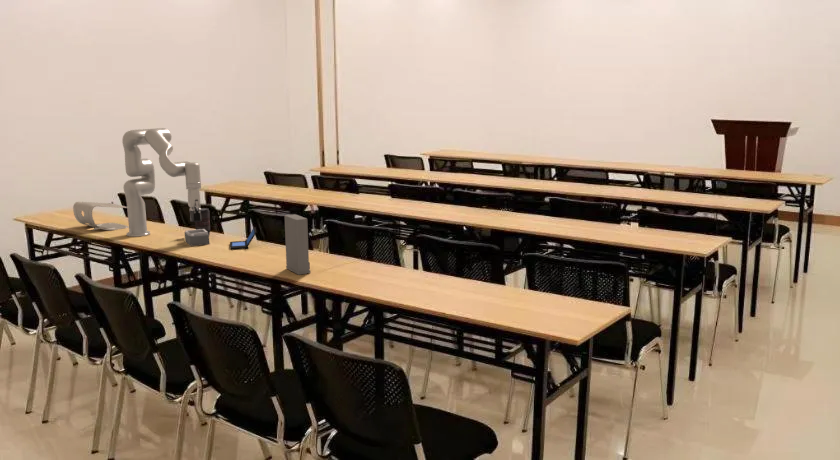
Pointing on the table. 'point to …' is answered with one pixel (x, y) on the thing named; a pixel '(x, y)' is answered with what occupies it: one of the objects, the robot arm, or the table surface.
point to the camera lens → (204, 221)
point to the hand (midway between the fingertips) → (195, 219)
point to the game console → (243, 242)
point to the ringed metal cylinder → (193, 215)
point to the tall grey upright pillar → (297, 244)
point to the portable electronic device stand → (88, 218)
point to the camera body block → (196, 237)
